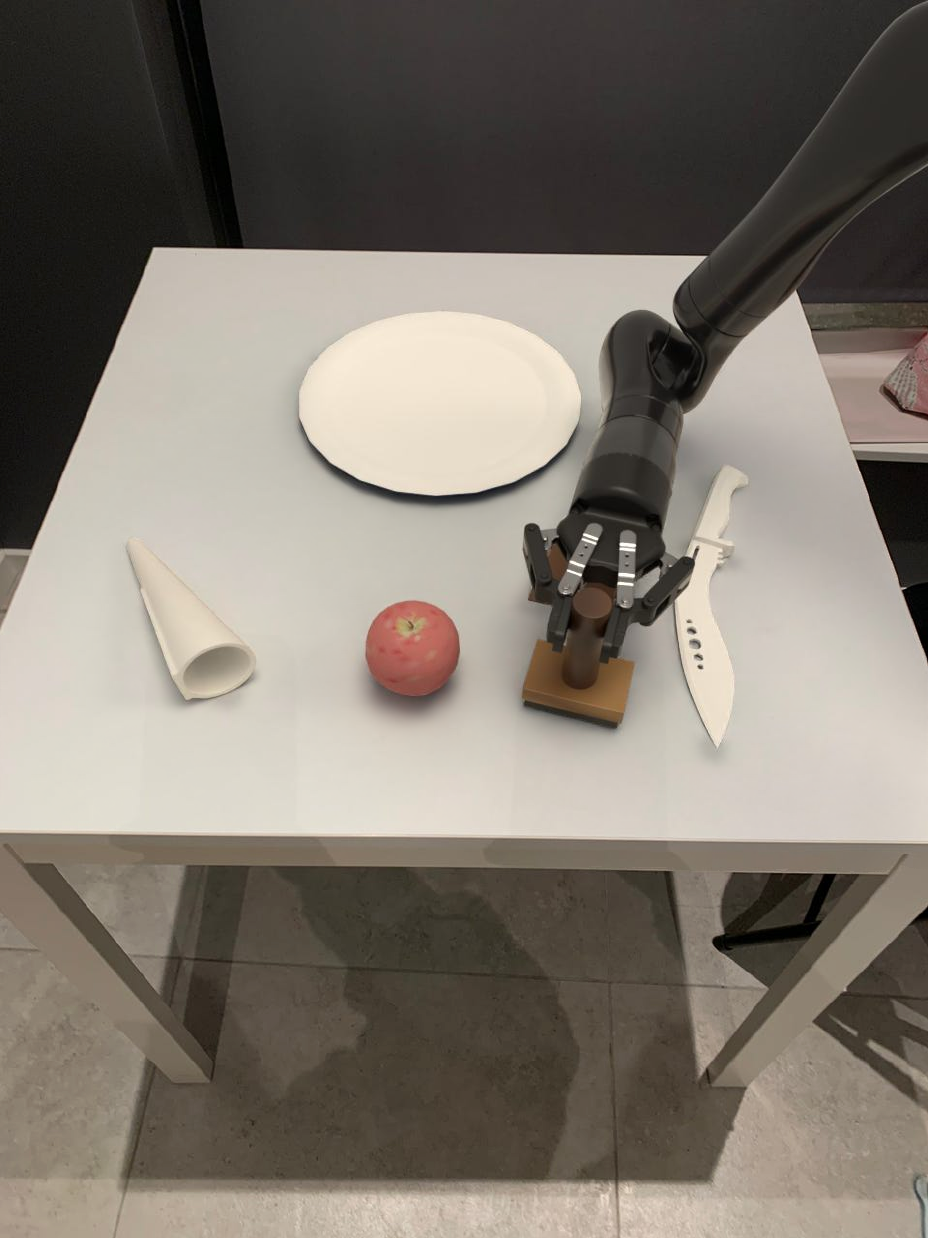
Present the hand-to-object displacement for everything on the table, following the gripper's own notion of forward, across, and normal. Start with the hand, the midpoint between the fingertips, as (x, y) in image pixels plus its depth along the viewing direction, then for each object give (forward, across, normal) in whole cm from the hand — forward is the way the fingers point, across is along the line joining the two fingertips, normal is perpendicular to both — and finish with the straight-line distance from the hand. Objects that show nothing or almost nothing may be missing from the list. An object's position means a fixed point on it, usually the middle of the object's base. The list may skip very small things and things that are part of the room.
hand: (581, 650), depth 66 cm
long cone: (-2, -34, +10) cm, 36 cm away
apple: (-1, -13, +10) cm, 17 cm away
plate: (-34, -21, +10) cm, 41 cm away
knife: (-16, +10, +10) cm, 22 cm away
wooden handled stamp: (-3, 0, +10) cm, 10 cm away
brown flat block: (-15, -2, +10) cm, 18 cm away
